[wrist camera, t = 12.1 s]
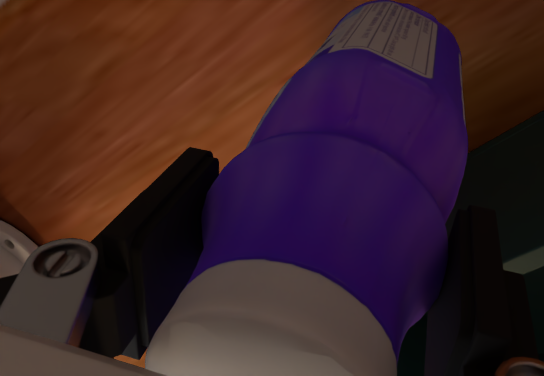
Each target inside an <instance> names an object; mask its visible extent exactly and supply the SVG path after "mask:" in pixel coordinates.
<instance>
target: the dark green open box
mask: <svg viewBox="0 0 544 376" xmlns="http://www.w3.org/2000/svg"><path fill="white" fill-rule="evenodd" d="M469 205H473V206H478V207H483V208H488V209H493V210H495V212H496V218H497V225H498V233H499V241H500V248H501V256H502V264H503V270H507V271H511V272H515V273H520V274H522V275H523V277H524V280H525V285H526V291H527V296H528V302H529V307H530V313H531V318H532V324H533V329H534V335H535V340H536V346H537V351H538V357H539V360H540V361H543V362H544V110H543V111H542V112H540V113H538V114H536V115H535V116H533V117H531V118H529V119H528V120H526V121H524V122H522V123H521V124H519V125H517V126H515V127H514V128H512V129H510V130H508V131H507V132H505V133H503V134H501V135H500V136H498V137H496V138H494V139H492V140H491V141H489V142H487V143H485V144H484V145H482V146H480V147H478V148H477V149H475V150H473V151H471V152H470V153H468V154H467V160H466V166H465V170H464V176H463V178H462V182H461V185H460V188H459V192H458V196H457V199H456V202H455V205H454V207H453V209H452V211H451V213H450V215H449V217H448V219H447V221H446V224H445V225H446V230H447V237H448V239H449V235H450V232H451V229H452V226H453V222H454V219H455V216H456V213H457V211H458V209H462V210H467V208H468V206H469ZM427 320H428V311H427V312H426V313H425V314H424V315H423V317H422V318H421V319H420V320H419V321H417V322H416V323H415V324H414V325H412V326H411V327H410V328H409V329H408V331H407V332H406V334H405V337H404V339H403V341H402V343H401V348H400V352H399V357H398V362H397V376H424V370H425V353H426V337H427Z"/></svg>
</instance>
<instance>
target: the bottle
mask: <svg viewBox="0 0 544 376" xmlns="http://www.w3.org/2000/svg"><path fill="white" fill-rule="evenodd" d="M461 65H462V61H461V52H460V49H459V46H458V44H457V41H456V39H455V37H454V36H453V34H452V33H451V32H450V31H449V29H447V28H446V27H445V26H444V25H442V24H441V23H439V22H438V21H437V20H436V18H435V17H434V16H432V15H431V14H429V13H427V12H425V11H423V10H421V9H419V8H417V7H415V6H413V5H410V4H402V3H398V2H395V1H391V0H376V1H370V2H366V3H364V4H362V5H359V6H357V7H356V8H354V9H353V10H351V11H350V12H349V13H348V14H346V15H345V16H344V17H343V18H342V19H341V20H340V21H339V22H338V24H337V25H336V26H335V28H334V29H333V31H332V32H331V33H330V35H329V36H328V38H327V39H326V41H325V42H324V43H323V45H322V46H321V47H320V48H319V49H318V50H317V52H316V53H315V54H314V55H313V57H312V58H311V59H310V60H309V61H308V62H307V63H306V65H305V66H304V67H302V68H301V69H300V70H299V71H298V72H297V73H296V74H295V75H294V76H293V77H291V78H290V79H289V80H288V81H287V82H286V84H285V85H284V86H283V87H282V88H281V90H280V91H279V93H278V94H277V95H276V97H275V98H274V100H273V101H272V103H271V104H270V106H269V108H268V109H267V111H266V112H265V114H264V116H263V117H262V119H261V121H260V123H259V124H258V126H257V128H256V130H255V132H254V133H253V135H252V137H251V139H250V141H249V143H248V145H247V147H246V149H245V150H244V151H243V152H242V153H240V154H239V155H237V156H236V157H235V158H234V159H232V160H231V161H230V162H229V163H228V165H227V166H225V167H224V168H223V170H222V171H221V173H220V174H219V176H218V177H217V178H216V180H215V181H214V182H213V184H212V186H211V187H210V189H209V191H208V192H207V195H206V199H205V203H204V206H203V209H202V216H201V224H202V240H203V246H204V248H203V251H202V253H201V255H200V257H199V260H198V263H197V266H196V268H195V270H194V272H193V273H192V276H191V278H190V280H189V281H188V283H187V284H186V286H185V288H184V290H183V291H182V292H181V293H180V295H179V297H178V299H177V300H176V302H175V304H174V306H173V307H172V309H171V310H170V312H169V313H168V315H167V316H166V318H165V319H164V321H163V322H162V324H161V325H160V326H159V328H158V329H157V331H156V332H155V334H154V336H153V338H152V340H151V342H150V344H149V347H148V349H147V351H146V359H145V369H148V370H151V371H154V372H157V373H161V374H164V375H167V376H397V362H398V357H399V352H400V348H401V343H402V341H403V339H404V337H405V334H406V332H407V331H408V329H409V328H410V327H411V326H412V325H414V324H415V323H416V322H417V321H419V320H420V319H421V318H422V317H423V315H424V314H425V313H426V312H427V311H428V310H429V309H430V308H431V306H432V305H433V303H434V302H435V300H436V299H437V298H438V297H439V293H440V290H441V287H442V284H443V280H444V276H445V272H446V267H447V262H448V237H447V230H446V225H445V224H446V221H447V219H448V217H449V215H450V213H451V211H452V209H453V207H454V205H455V202H456V199H457V196H458V192H459V188H460V185H461V182H462V178H463V176H464V170H465V166H466V160H467V154H468V136H467V130H466V122H465V110H464V99H463V88H462V67H461Z"/></svg>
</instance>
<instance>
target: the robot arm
mask: <svg viewBox="0 0 544 376" xmlns="http://www.w3.org/2000/svg"><path fill="white" fill-rule="evenodd" d="M218 176H219V161H218V159H217V158H213V154H212V152H211V151H206V150H201V149H196V148H192V147H189V148H188V149H187V150H186V151H185V152H184V153H183V154H182V155H181V156H180V157H179V158H178V159H176V160H175V161H174V162H173V163H172V164H171V165H170V166H169V167H168V168H167V169H166V170H165V171H164V172H163V173H162V174H161V175H160V176H159V177H158V178H157V179H156V180H155V181H154V182H153V183H152V184H151V185H150V186H149V187H148V188H147V189H145V190H144V191H143V192H141V193H140V194H139V195H138V196H137V197H136V198H135V199H134V200H133V201H132V202H131V203H130V204H129V205H128V206H127V207H126V208H125V209H124V210H123V211H122V212H121V213H120V214H119V215H118V216H117V217H116V218H115V219H114V220H113V221H112V222H111V223H110V224H109V225H108V226H107V227H106V228H105V229H104V230H103V231H101V232H100V233H99V234H98V235H97V236H96V237H95V238H94V239H93V240H92V241H91V242H88V241H86V240H83V239H76V238H67V239H59V240H55V241H51V242H49V243H46V244H44V245H42V246H40V247H38V246H37V245H36V244H35V243H34V242H33V241H31V240H30V239H29V238H28V237H27V236H26V235H24V234H23V233H22V232H20V231H19V230H17V229H16V228H14V227H13V226H11V225H9V224H7V223H5V222H3V221H2V220H0V376H167V375H164V374H161V373H157V372H154V371H151V370H148V369H145V368H141V367H138V366H135V365H132V364H129V363H125V362H122V361H119V360H116V359H114V357H115V356H118V355H125V356H128V357H131V358H134V359H137V360H140V358H141V357H142V355H143V354H144V352H145V351H146V349H147V348H148V347H149V344H150V342H151V340H152V338H153V336H154V334H155V332H156V331H157V329H158V328H159V326H160V325H161V324H162V322H163V321H164V319H165V318H166V316H167V315H168V313H169V312H170V310H171V309H172V307H173V306H174V304H175V302H176V300H177V299H178V297H179V295H180V293H181V292H182V291H183V290H184V288H185V286H186V284H187V283H188V281H189V280H190V278H191V276H192V273H193V272H194V270H195V268H196V266H197V263H198V260H199V257H200V255H201V253H202V251H203V248H204V246H203V240H202V224H201V216H202V209H203V206H204V203H205V199H206V195H207V192H208V191H209V189H210V187H211V186H212V184H213V182H214V181H215V180H216V178H217V177H218ZM424 376H544V362H543V361H540V360H539V357H538V351H537V346H536V340H535V335H534V329H533V324H532V318H531V313H530V307H529V302H528V296H527V291H526V285H525V280H524V277H523V275H522V274H520V273H515V272H511V271H507V270H503V264H502V256H501V248H500V241H499V233H498V225H497V218H496V212H495V210H493V209H488V208H483V207H478V206H473V205H469V206H468V208H467V210H462V209H458V211H457V213H456V216H455V219H454V222H453V226H452V229H451V232H450V235H449V239H448V262H447V267H446V272H445V276H444V280H443V284H442V287H441V290H440V293H439V297H438V298H437V299H436V300H435V302H434V303H433V305H432V306H431V308H430V309H429V310H428V320H427V337H426V353H425V370H424Z"/></svg>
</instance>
